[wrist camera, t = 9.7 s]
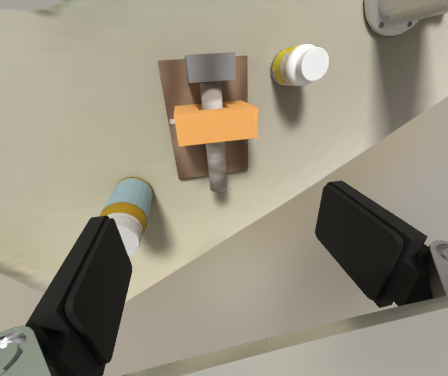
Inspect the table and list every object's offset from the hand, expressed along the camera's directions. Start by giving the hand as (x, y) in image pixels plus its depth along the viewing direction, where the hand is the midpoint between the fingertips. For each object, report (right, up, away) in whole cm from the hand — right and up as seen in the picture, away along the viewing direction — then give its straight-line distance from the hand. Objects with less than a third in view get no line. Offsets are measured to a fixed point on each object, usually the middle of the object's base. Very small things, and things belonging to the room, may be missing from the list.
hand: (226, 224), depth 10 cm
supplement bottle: (+10, +23, +28) cm, 37 cm away
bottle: (-18, +1, +33) cm, 38 cm away
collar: (-3, +14, +26) cm, 30 cm away
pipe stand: (-3, +14, +29) cm, 33 cm away
